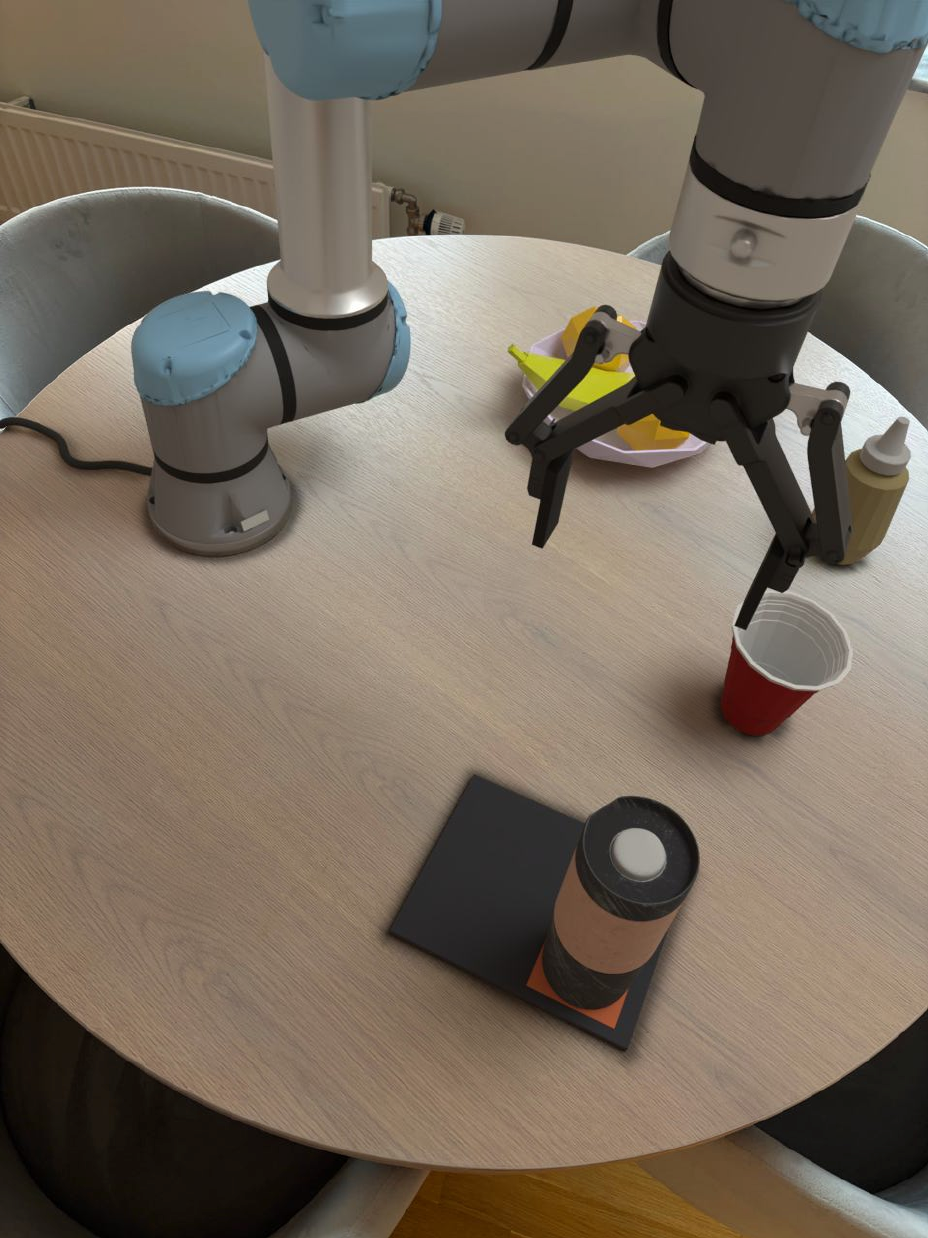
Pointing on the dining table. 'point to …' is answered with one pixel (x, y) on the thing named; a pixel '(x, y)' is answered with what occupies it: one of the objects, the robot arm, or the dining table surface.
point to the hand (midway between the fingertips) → (642, 573)
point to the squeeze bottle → (875, 488)
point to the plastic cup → (782, 661)
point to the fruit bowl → (624, 443)
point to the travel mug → (618, 899)
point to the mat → (507, 903)
